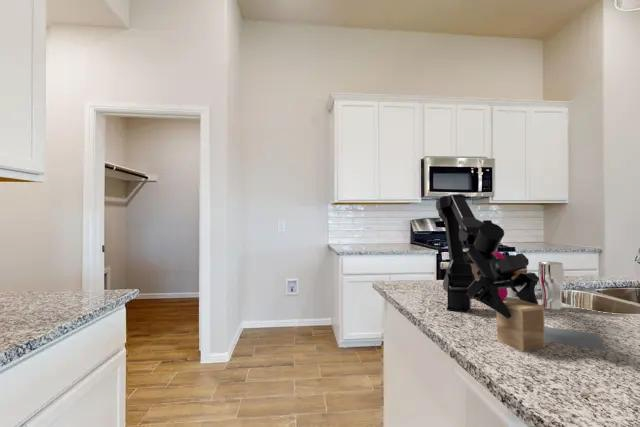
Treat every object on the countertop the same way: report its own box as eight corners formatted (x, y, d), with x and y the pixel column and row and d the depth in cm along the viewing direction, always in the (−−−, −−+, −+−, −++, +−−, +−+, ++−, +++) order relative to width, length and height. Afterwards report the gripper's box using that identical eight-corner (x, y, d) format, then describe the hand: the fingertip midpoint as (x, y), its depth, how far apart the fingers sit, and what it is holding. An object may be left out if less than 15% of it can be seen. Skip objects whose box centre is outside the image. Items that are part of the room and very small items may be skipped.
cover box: (497, 342, 83) (496, 301, 83) (518, 338, 85) (517, 299, 85) (522, 353, 76) (521, 309, 76) (545, 348, 79) (543, 306, 79)
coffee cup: (525, 293, 131) (524, 255, 132) (531, 298, 123) (530, 257, 124) (501, 292, 134) (500, 254, 134) (506, 297, 126) (505, 257, 126)
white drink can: (569, 311, 107) (567, 264, 107) (544, 310, 108) (543, 264, 108) (558, 305, 114) (557, 261, 114) (535, 304, 115) (534, 261, 115)
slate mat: (537, 341, 83) (537, 339, 83) (538, 327, 93) (538, 325, 93) (606, 352, 76) (606, 350, 76) (598, 335, 86) (598, 334, 86)
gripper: (474, 245, 82) (514, 301, 71) (531, 241, 88) (576, 292, 77) (453, 272, 89) (486, 326, 79) (507, 267, 95) (545, 317, 85)
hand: (524, 315), depth 80 cm, fingers open, 9 cm apart
